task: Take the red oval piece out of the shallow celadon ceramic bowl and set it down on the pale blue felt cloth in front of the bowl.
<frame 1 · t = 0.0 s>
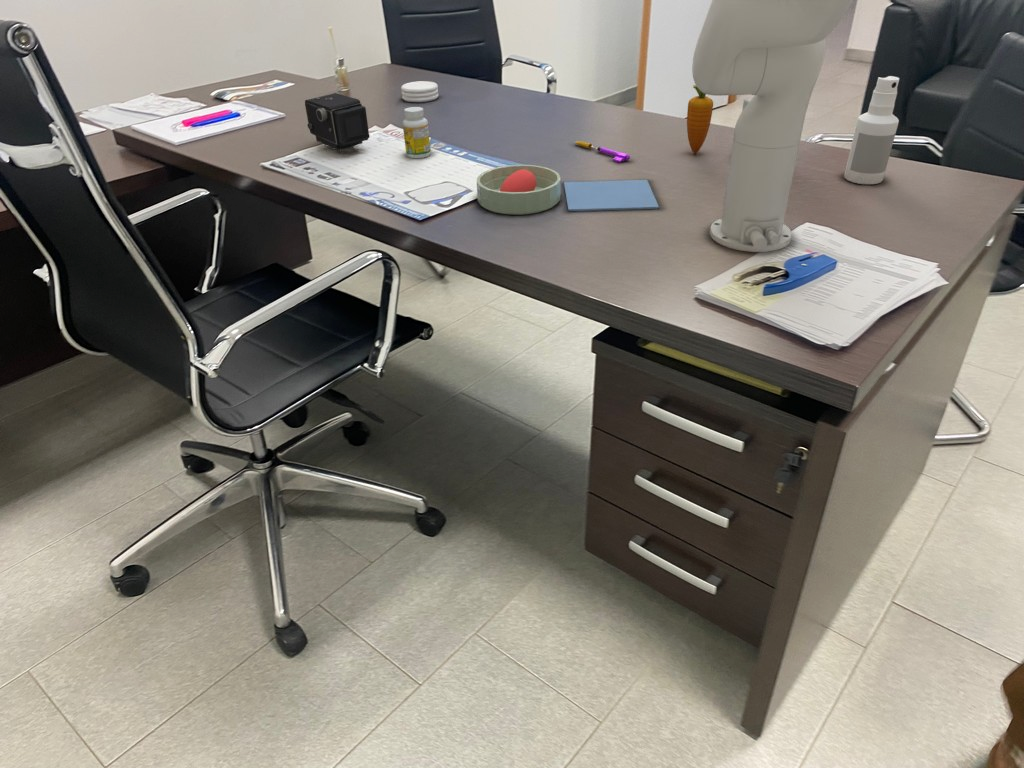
purple and gold rod: (599, 154, 153), on the table
red oval piece: (519, 199, 133), resting on bowl
camera: (342, 149, 162), on the table
ink box: (758, 160, 147), on the table
carrot: (694, 154, 151), on the table
bowl: (519, 199, 133), on the table
coaster: (420, 99, 198), on the table
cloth: (609, 195, 133), on the table
supplement bottle: (418, 155, 157), on the table
spray bottle: (862, 180, 136), on the table
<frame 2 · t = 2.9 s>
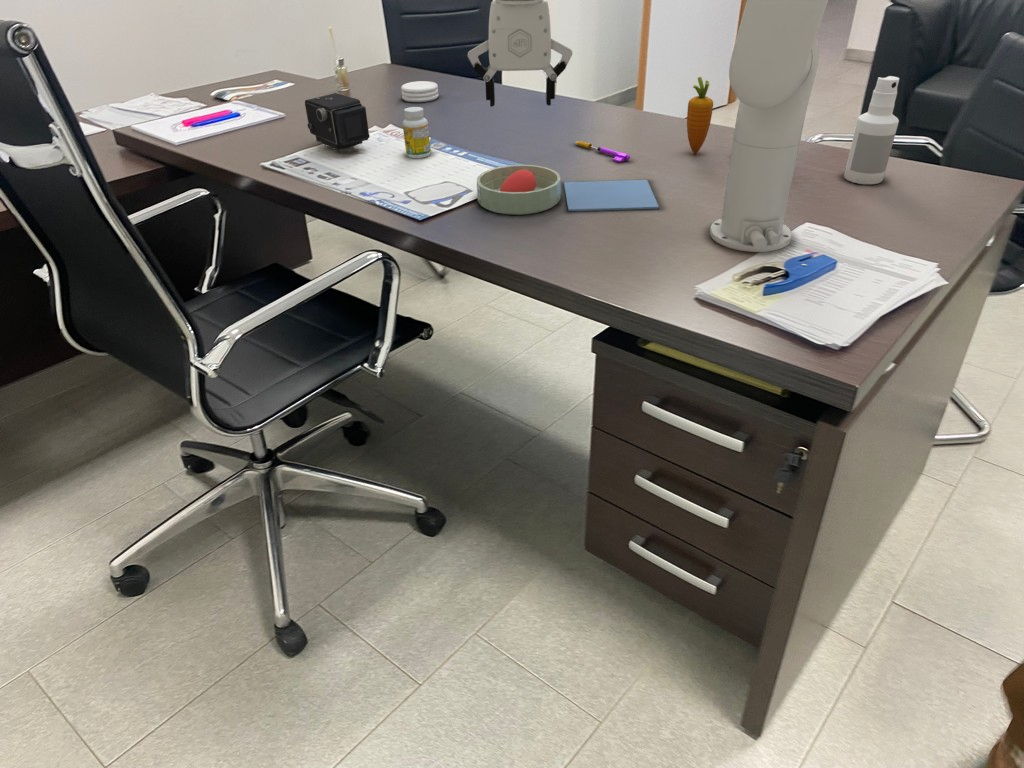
hand: (520, 104, 123), 17 cm above the table, tool pointing down, fingers open, 9 cm apart
nothing on the table moved.
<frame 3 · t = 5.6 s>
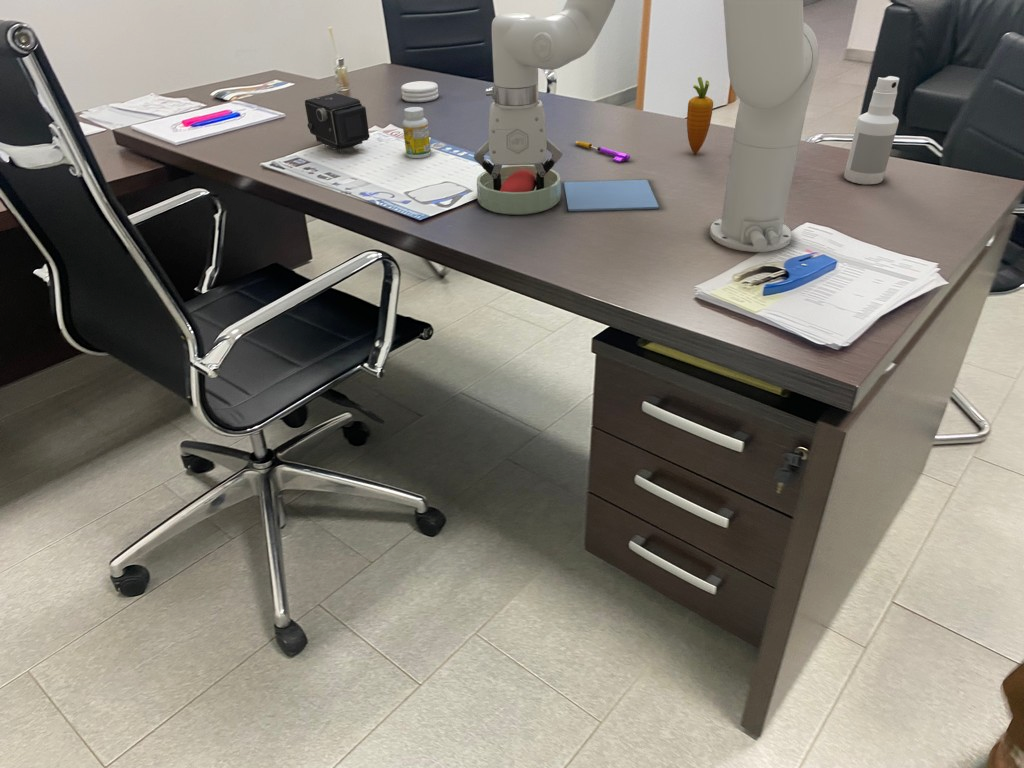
hand: (519, 195, 132), 1 cm above the table, tool pointing down, fingers closed on red oval piece, 6 cm apart
red oval piece: (519, 199, 133), resting on bowl, touching gripper
everything else where it was.
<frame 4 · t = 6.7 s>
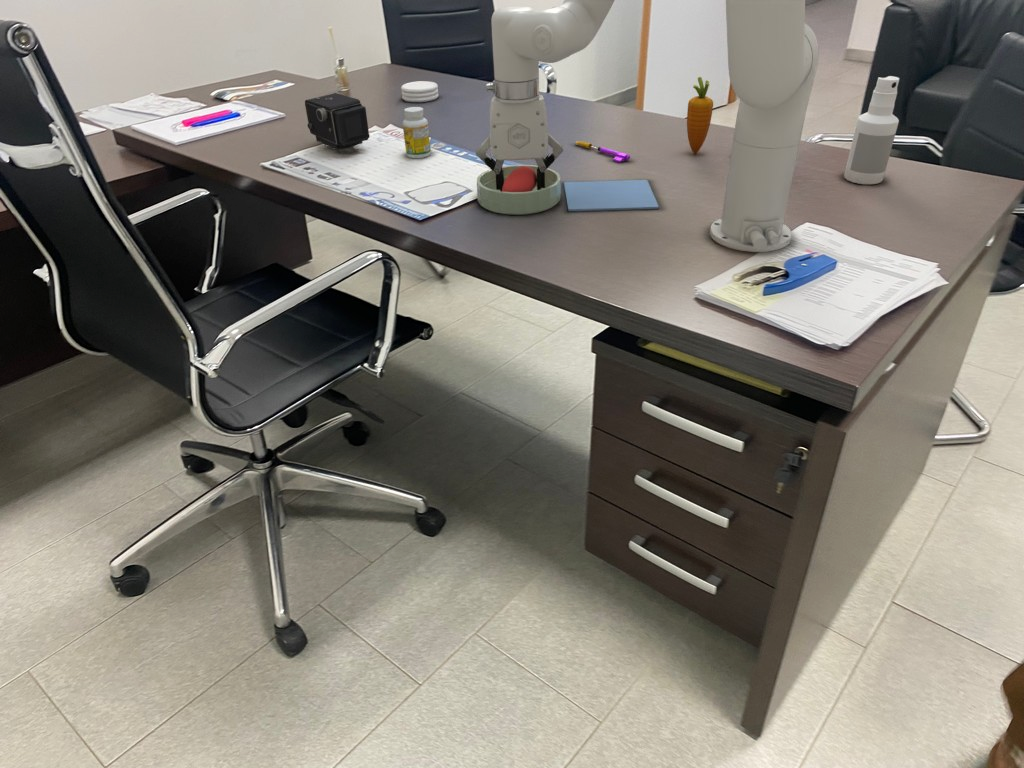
hand: (520, 191, 132), 2 cm above the table, tool pointing down, fingers closed on red oval piece, 6 cm apart
red oval piece: (521, 196, 132), point 1 cm above the table, touching gripper
everything else where it was.
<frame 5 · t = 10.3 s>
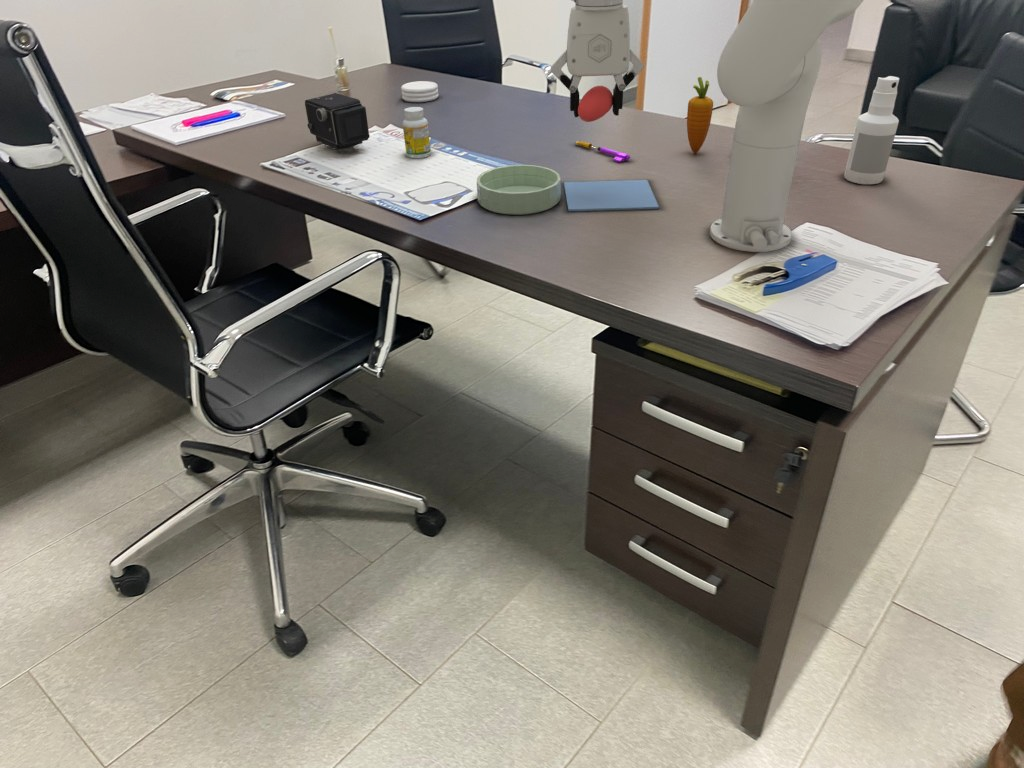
hand: (595, 113, 124), 15 cm above the table, tool pointing down, fingers closed on red oval piece, 6 cm apart
red oval piece: (596, 118, 124), point 14 cm above the table, touching gripper
everything else where it was.
when the fingers open (1 cm above the table, at t = 14.1 s): red oval piece stays where it is, resting on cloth.
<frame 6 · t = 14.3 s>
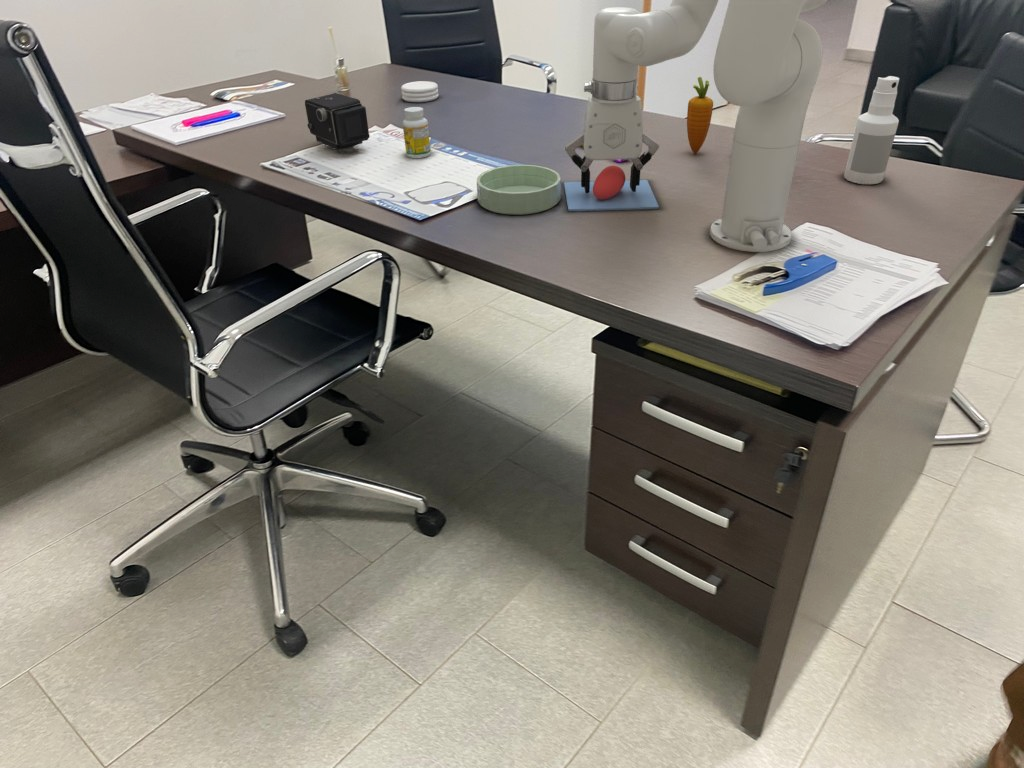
hand: (609, 189, 132), 1 cm above the table, tool pointing down, fingers open, 8 cm apart
red oval piece: (608, 195, 133), resting on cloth
everything else where it was.
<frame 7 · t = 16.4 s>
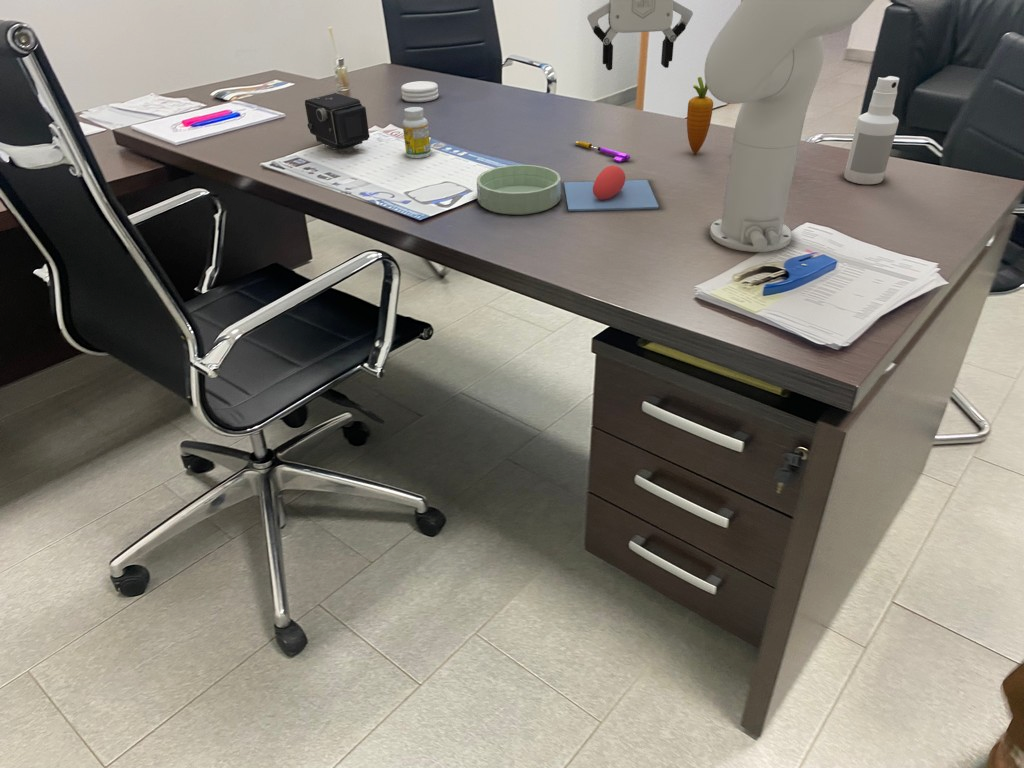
hand: (636, 67, 123), 21 cm above the table, tool pointing down, fingers open, 9 cm apart
nothing on the table moved.
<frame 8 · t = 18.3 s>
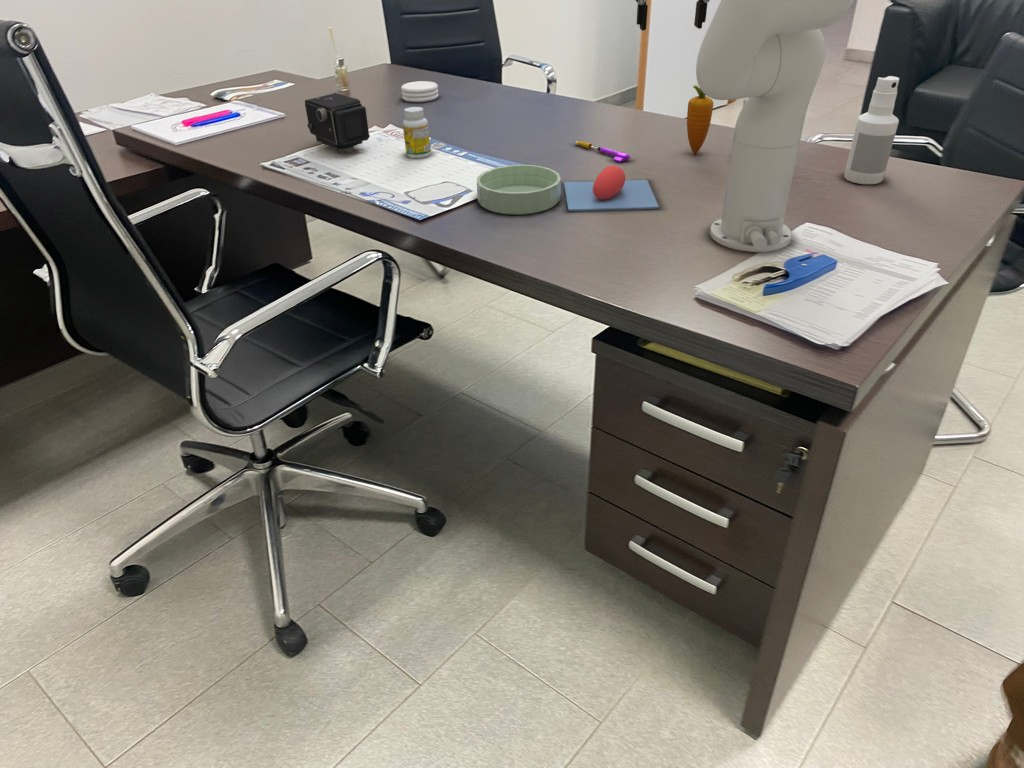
hand: (670, 28, 126), 26 cm above the table, tool pointing down, fingers open, 9 cm apart
nothing on the table moved.
at the end: red oval piece inside the target area on the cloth (0.2 cm from its centre), point 0.2 cm above the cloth's base; the gripper is holding nothing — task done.
